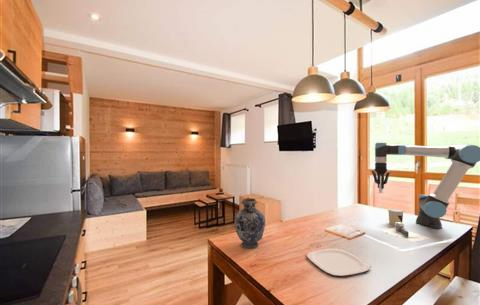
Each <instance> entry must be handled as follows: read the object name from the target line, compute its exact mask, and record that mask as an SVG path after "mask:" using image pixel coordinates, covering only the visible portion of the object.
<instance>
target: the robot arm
mask: <svg viewBox="0 0 480 305" xmlns="http://www.w3.org/2000/svg"><path fill="white" fill-rule="evenodd" d="M374 145H375V146H374V151H375V152H374V155H375V156H374V162H375V163H374V169H373V170H371V173H372V175H373V179H374V180H373V181H374V183H375V184H377V188H378V193H379V194H382V193H384V192H383V191H384V188H385V185H386V184H388V180H389V176H390V174H391V173H392V172H391V171H390V170H389V171H388V168H387V162H388V161H387V155H390V156H391V155H392V156H393V155H394V156H414V157H415V156H418V157H430V158H431V157H435V158H444V159H445V160H450V161H451V164H450V166H449V168H448V170H447V171H446V172H445V174H444V175H443V177H442V179H441V180H440V182H439V183H438V185H437V187H436V188H435V190H434V191H433V193H429V194H419V195H418V215H417V217H416V219H415V224H416V225H418V226H422V227H425V228H428V229H434V230H437V229H439V230H440V229H442V228H443V225H442V222H441V219H440V218H442V217H445V215H446V214H447V210H448V209H447V208H448V206H449V205H450V202H449V200H450V198H451V196H452V195H453V193H454V192H455V191H456V188H458V186H459V185H460V183H461V181H462V179H463V178H464V177H465V175H466V174H467V172H468V171H469V169H473V168H474V167H475V166H476V164H477V163H478V162H480V146H479V145H476V144H471V143H469V144H459V145H446V146H431V145H430V146H427V145H406V144H387V142H384V141H383V142H381V141H380V142H378V141H377V142H376V143H375V144H374Z"/></svg>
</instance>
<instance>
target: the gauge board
mask: <svg viewBox="0 0 480 305" xmlns="http://www.w3.org/2000/svg"><path fill="white" fill-rule="evenodd" d="M379 231H380V232H384V233H385V234H389V235H391V236H395V237H397V238H401V239H403V240H405V241H407V242H411V243H417V242H421V241H425V240H430V239H431V237H429V236H425V235H422V234H419V233H416V232H412V231H409V230H407V231H408V236H405V235H404V234H402V233H401V232H399V231H396V226H395V227H390V228H383V229H379Z"/></svg>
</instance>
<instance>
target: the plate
mask: <svg viewBox="0 0 480 305" xmlns="http://www.w3.org/2000/svg"><path fill="white" fill-rule="evenodd" d="M306 257H307V259H308V260H309V261H310V262H312V263H313V264H314V265H315V266H316V267H318V268H319V269H320V270H322V271H323V272H324V273H327V274H329V275H332V276H335V277H336V276H337V277H344V276H345V277H346V276H347V277H348V276H352V275H359V274H362V273H365V272H368V271H369V270H370V269H371V267H370V266H369V264H367V263H366V262H365V261H364V260H362V259H360V258H359V257H357V256H356V255H354V254H352V253H350V252H348V251H346V250H344V249H340V248H324V249H319V250H313V251H310V252H308V253H307V254H306Z"/></svg>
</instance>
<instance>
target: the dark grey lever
mask: <svg viewBox="0 0 480 305" xmlns="http://www.w3.org/2000/svg"><path fill="white" fill-rule="evenodd" d="M394 226H395V227H396V231H399V232H401V233H402V234H404V235H405V236H408V231H409V230H406V229H405V228H404V227H405V223H404V222H402V223H399V222H395V225H394Z"/></svg>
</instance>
